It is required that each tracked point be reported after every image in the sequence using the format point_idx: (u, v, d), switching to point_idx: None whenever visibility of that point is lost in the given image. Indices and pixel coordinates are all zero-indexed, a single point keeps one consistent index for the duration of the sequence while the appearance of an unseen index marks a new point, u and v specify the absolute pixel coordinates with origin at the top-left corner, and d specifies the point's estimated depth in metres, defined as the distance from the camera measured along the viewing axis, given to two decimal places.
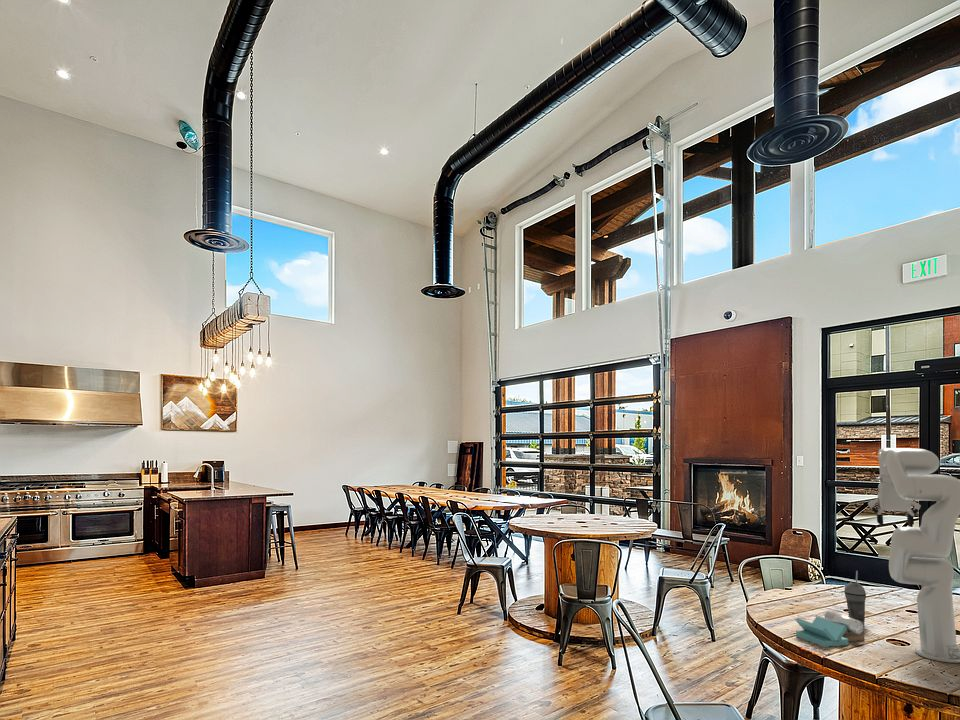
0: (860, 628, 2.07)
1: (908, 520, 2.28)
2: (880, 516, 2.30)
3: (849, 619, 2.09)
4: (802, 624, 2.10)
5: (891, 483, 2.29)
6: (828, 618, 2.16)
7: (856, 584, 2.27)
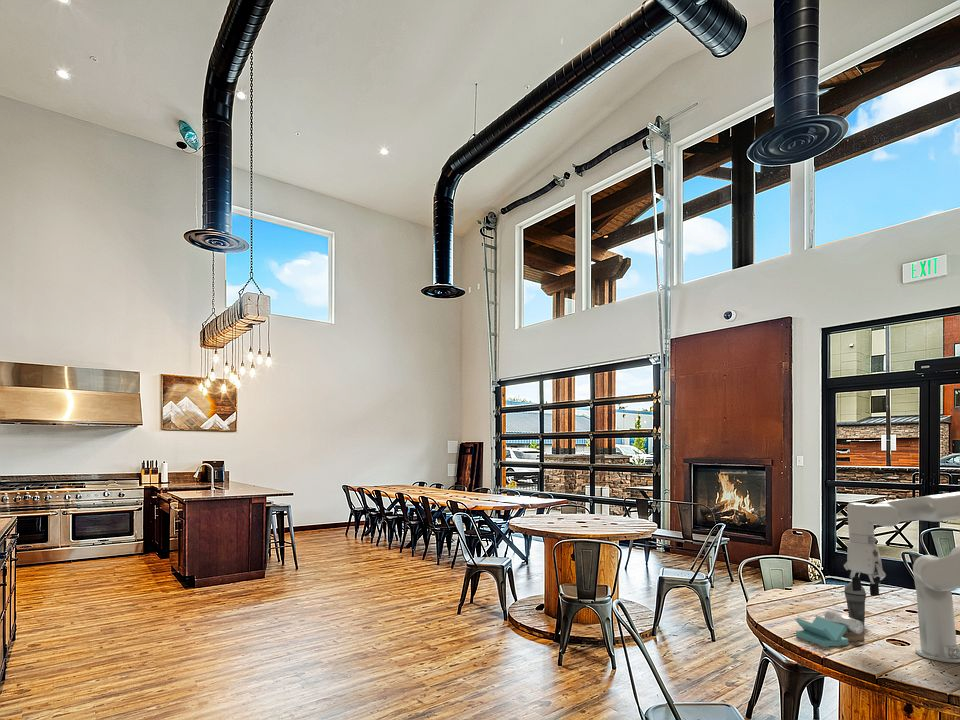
0: (860, 628, 2.07)
1: (857, 584, 2.08)
2: (877, 585, 2.02)
3: (849, 619, 2.09)
4: (802, 624, 2.10)
5: None
6: (828, 618, 2.16)
7: None
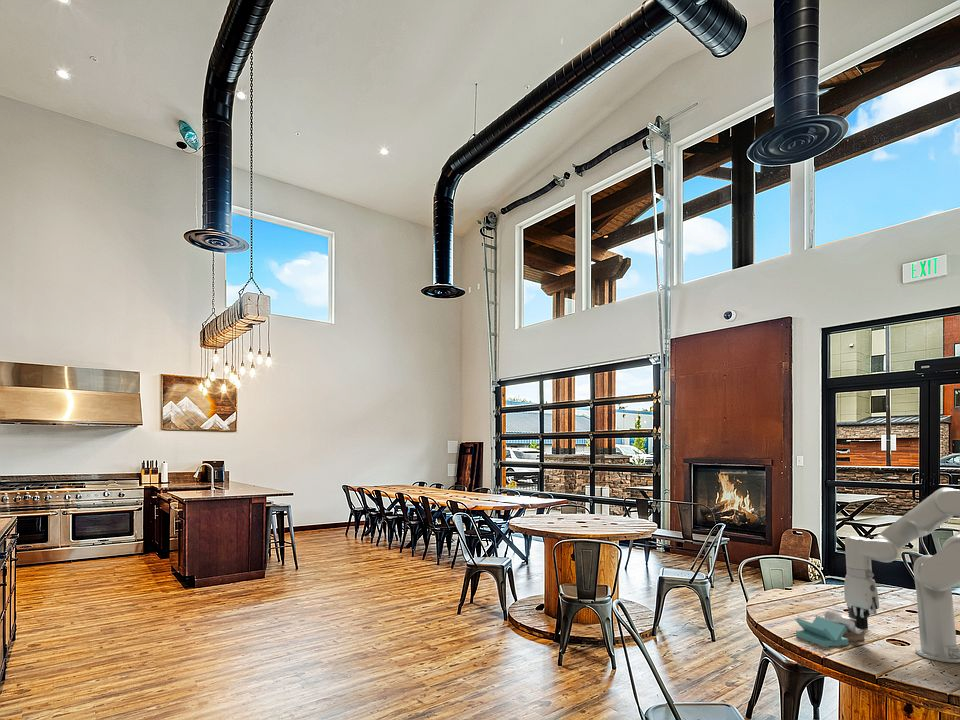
0: None
1: None
2: (866, 618, 2.05)
3: (849, 619, 2.09)
4: (802, 624, 2.10)
5: None
6: (828, 618, 2.16)
7: None
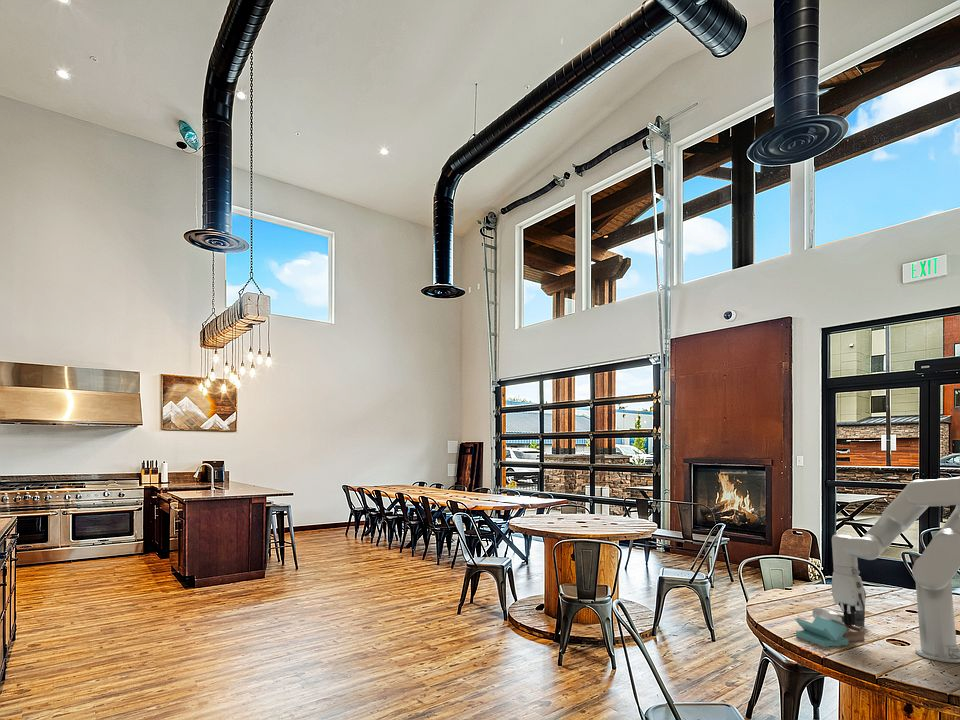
0: None
1: None
2: (853, 614, 2.10)
3: (836, 615, 2.14)
4: (802, 624, 2.10)
5: None
6: (816, 614, 2.21)
7: None
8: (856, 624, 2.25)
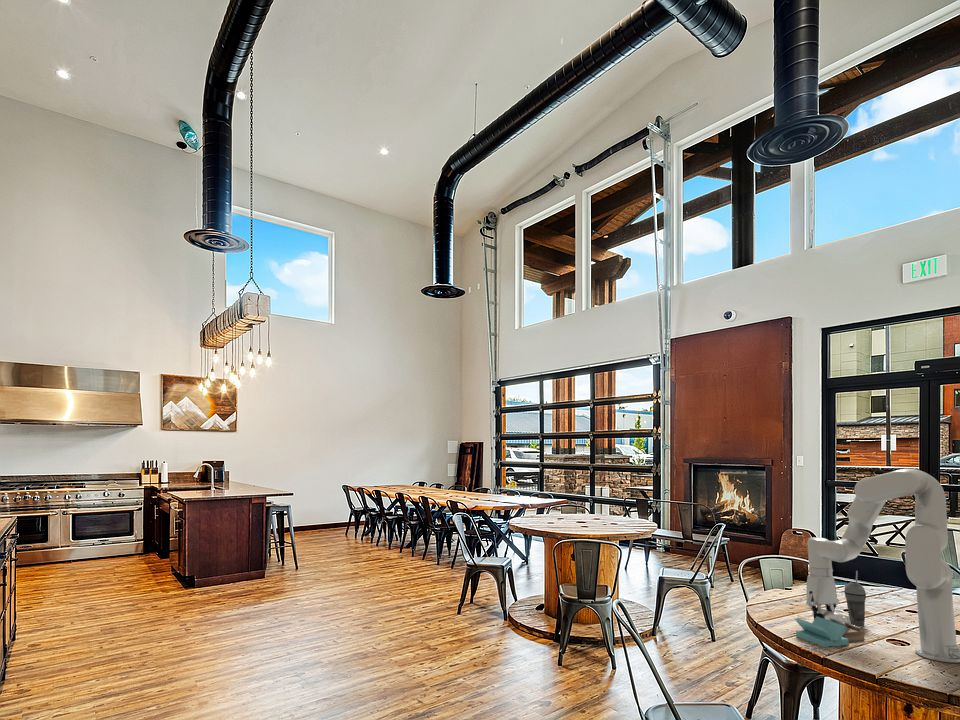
0: (847, 623, 2.12)
1: None
2: None
3: (837, 614, 2.14)
4: (802, 624, 2.10)
5: None
6: None
7: (856, 584, 2.27)
8: (856, 624, 2.25)
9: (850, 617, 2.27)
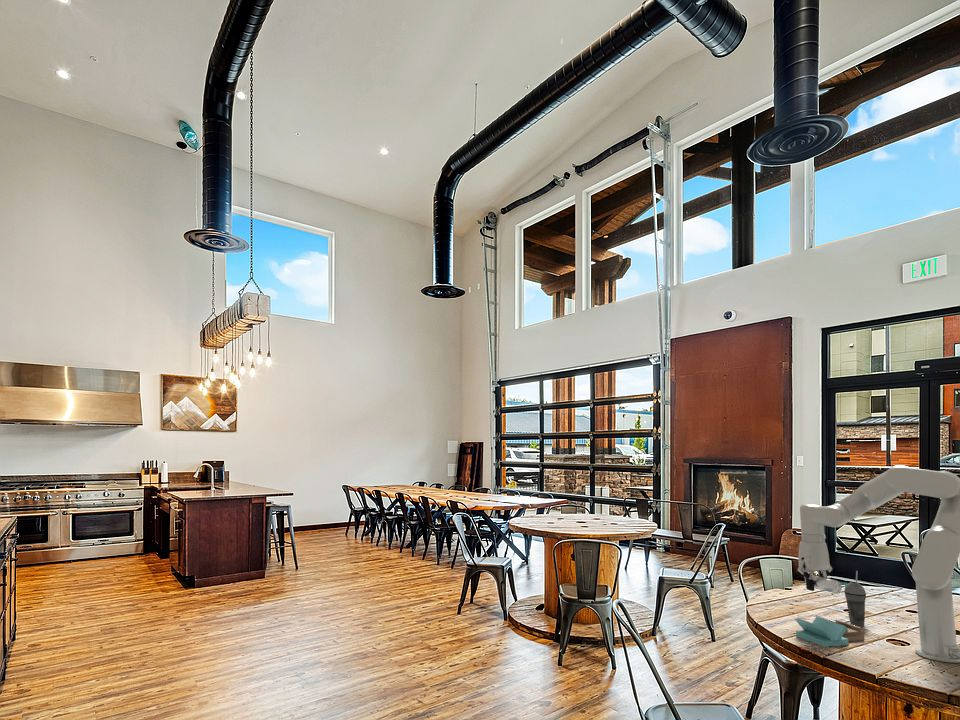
0: (838, 588, 2.10)
1: None
2: None
3: (828, 580, 2.12)
4: (802, 624, 2.10)
5: None
6: None
7: (856, 584, 2.27)
8: (856, 624, 2.25)
9: (850, 617, 2.27)
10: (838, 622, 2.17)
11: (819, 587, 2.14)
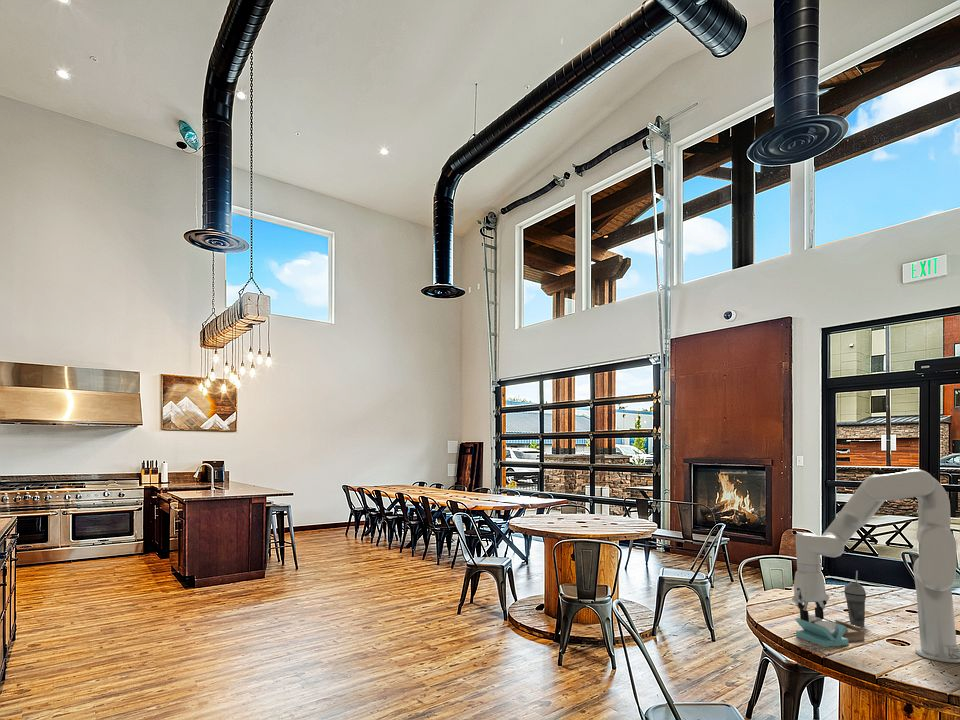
0: (835, 631, 2.04)
1: None
2: None
3: (825, 621, 2.06)
4: (802, 624, 2.10)
5: None
6: None
7: (856, 584, 2.27)
8: (856, 624, 2.25)
9: (850, 617, 2.27)
10: (838, 622, 2.17)
11: None
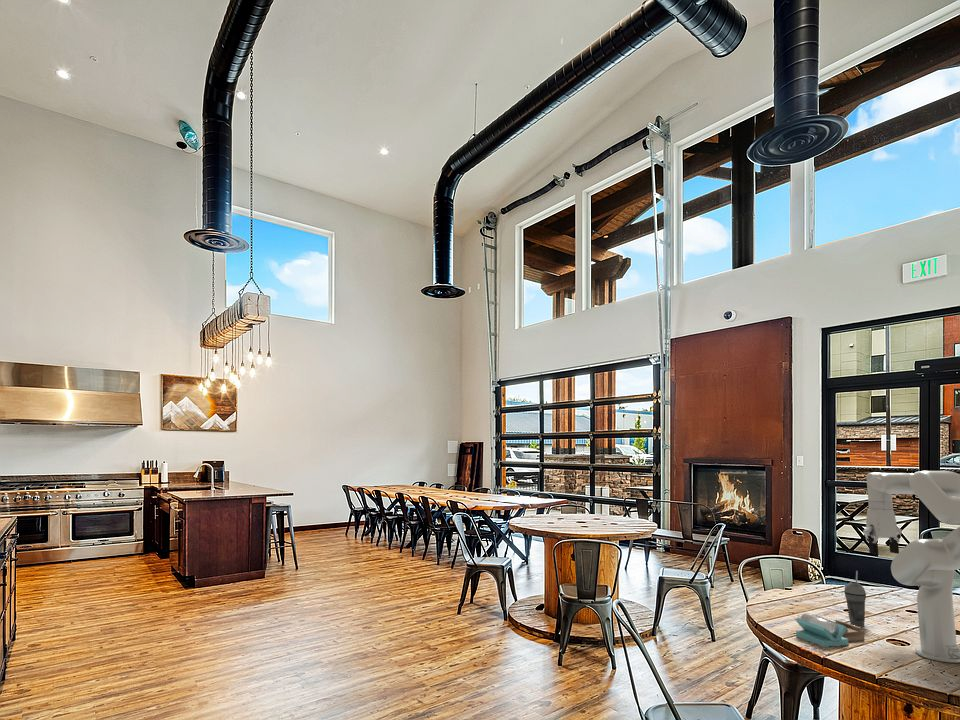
0: (835, 631, 2.04)
1: None
2: None
3: (825, 621, 2.06)
4: (802, 624, 2.10)
5: None
6: None
7: (856, 584, 2.27)
8: (856, 624, 2.25)
9: (850, 617, 2.27)
10: (838, 622, 2.17)
11: None
